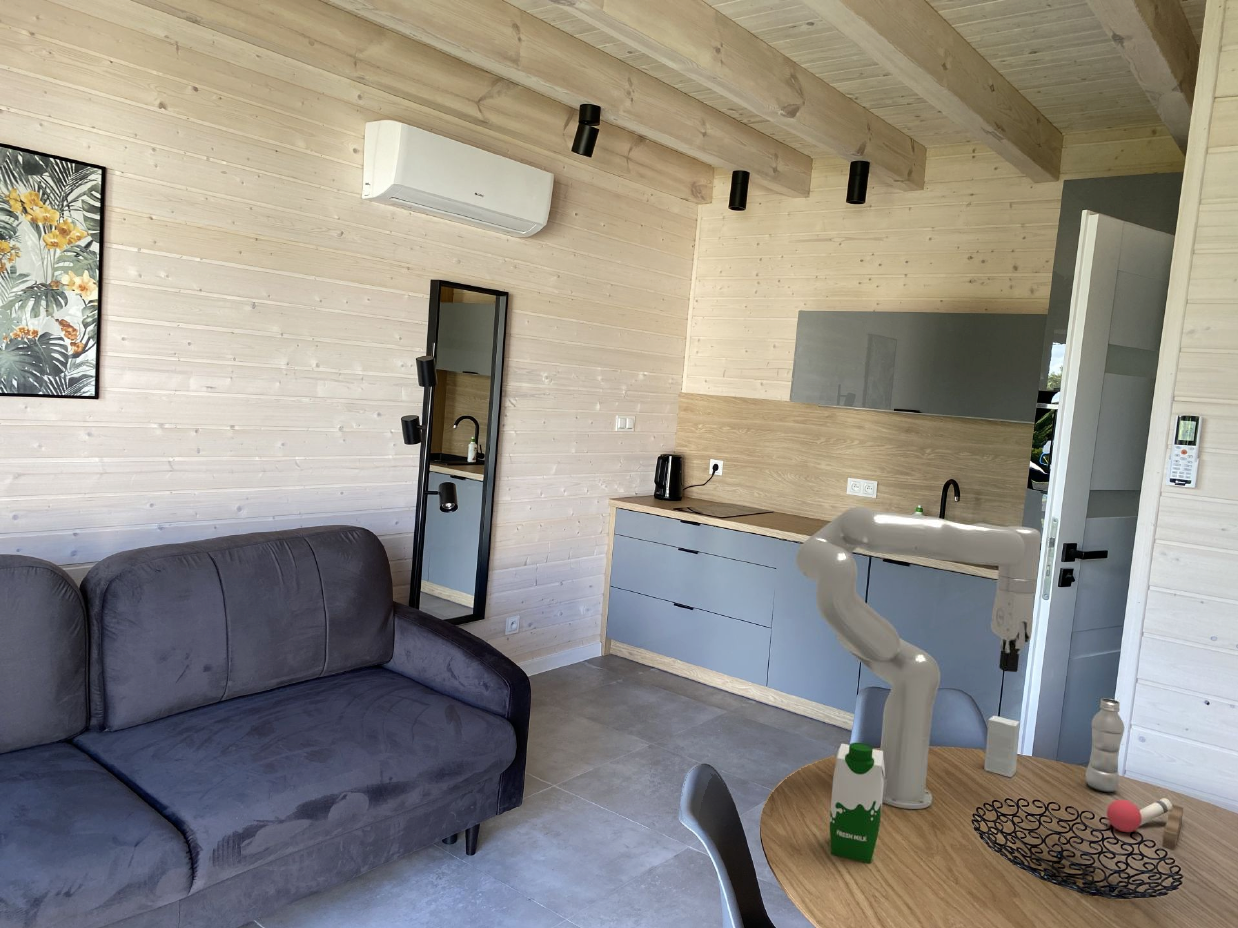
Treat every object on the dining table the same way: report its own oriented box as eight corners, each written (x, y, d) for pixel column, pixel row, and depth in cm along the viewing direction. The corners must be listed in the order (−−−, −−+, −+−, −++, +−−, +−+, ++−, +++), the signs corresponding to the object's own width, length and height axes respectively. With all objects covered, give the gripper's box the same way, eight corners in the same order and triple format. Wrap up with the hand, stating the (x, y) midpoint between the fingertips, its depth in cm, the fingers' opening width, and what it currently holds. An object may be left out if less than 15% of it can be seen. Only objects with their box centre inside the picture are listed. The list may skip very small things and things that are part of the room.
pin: (1128, 812, 180) (1160, 796, 183) (1131, 823, 180) (1163, 807, 183) (1138, 816, 178) (1170, 800, 180) (1141, 828, 178) (1173, 811, 180)
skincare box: (1016, 772, 203) (1021, 721, 202) (1010, 778, 200) (1016, 726, 199) (988, 764, 207) (993, 714, 206) (983, 769, 204) (987, 718, 203)
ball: (1151, 812, 173) (1143, 840, 174) (1135, 797, 179) (1127, 824, 180) (1120, 805, 174) (1112, 834, 174) (1105, 791, 179) (1098, 818, 180)
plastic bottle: (1109, 784, 200) (1118, 697, 199) (1123, 797, 193) (1132, 707, 192) (1079, 781, 201) (1088, 694, 199) (1092, 793, 194) (1101, 704, 193)
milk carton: (825, 855, 158) (834, 746, 157) (830, 833, 167) (839, 730, 166) (876, 867, 156) (886, 755, 154) (878, 844, 164) (888, 738, 163)
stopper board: (1174, 849, 170) (1176, 834, 170) (1162, 845, 171) (1164, 830, 171) (1181, 821, 183) (1183, 807, 183) (1170, 818, 184) (1171, 804, 184)
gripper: (984, 577, 195) (977, 659, 196) (1013, 591, 180) (1004, 679, 181) (1019, 579, 195) (1011, 661, 196) (1050, 593, 180) (1041, 682, 181)
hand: (1008, 670), depth 189 cm, fingers closed
